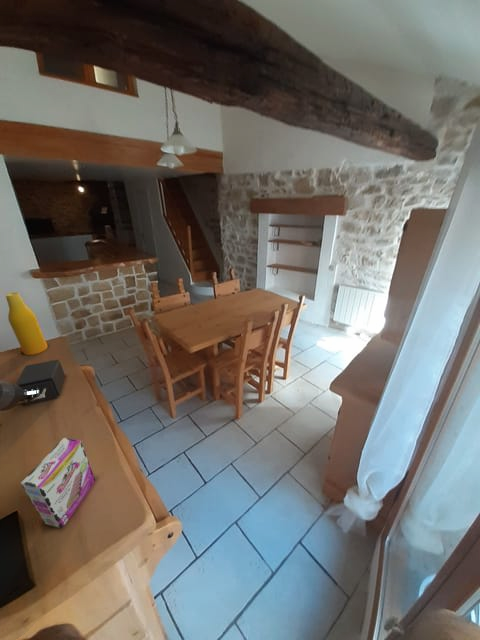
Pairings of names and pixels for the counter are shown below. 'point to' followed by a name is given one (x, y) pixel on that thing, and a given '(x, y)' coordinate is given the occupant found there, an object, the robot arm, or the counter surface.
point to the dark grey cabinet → (43, 374)
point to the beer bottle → (25, 325)
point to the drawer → (41, 391)
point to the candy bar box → (59, 482)
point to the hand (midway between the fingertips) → (28, 398)
